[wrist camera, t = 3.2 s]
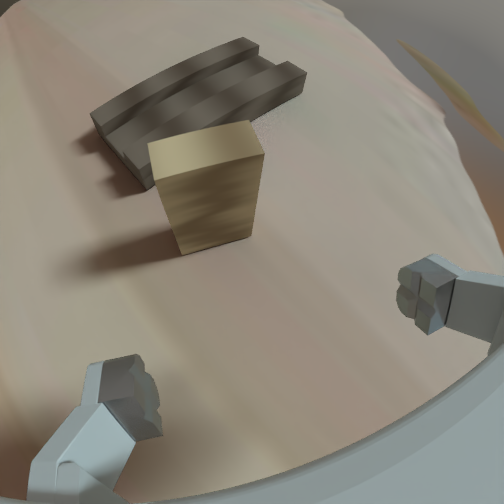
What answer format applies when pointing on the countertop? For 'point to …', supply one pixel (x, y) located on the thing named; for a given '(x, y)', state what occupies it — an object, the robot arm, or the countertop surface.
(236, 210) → the wooden block
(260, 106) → the bridge
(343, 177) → the countertop surface
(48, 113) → the countertop surface
